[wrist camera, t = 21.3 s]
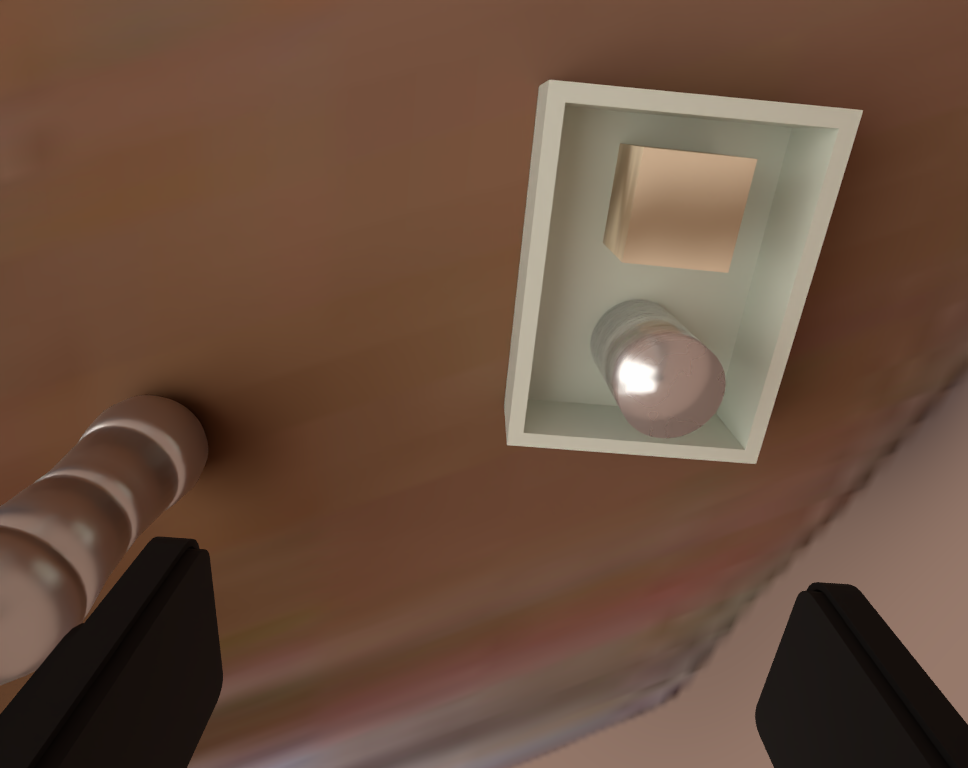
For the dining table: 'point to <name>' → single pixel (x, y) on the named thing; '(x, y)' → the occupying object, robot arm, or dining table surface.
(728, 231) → the maple cube
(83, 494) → the plastic bottle
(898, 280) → the dining table surface
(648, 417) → the steel cylinder
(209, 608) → the robot arm
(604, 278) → the tote
